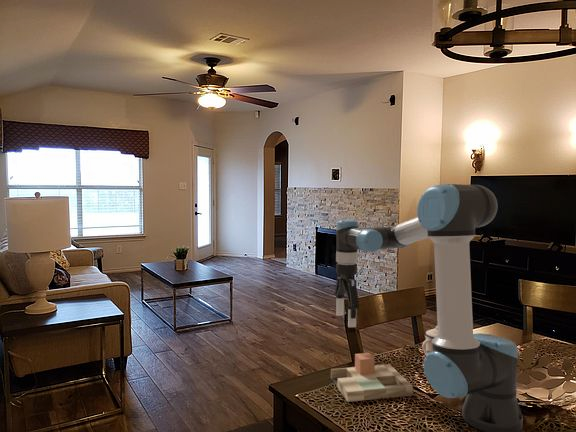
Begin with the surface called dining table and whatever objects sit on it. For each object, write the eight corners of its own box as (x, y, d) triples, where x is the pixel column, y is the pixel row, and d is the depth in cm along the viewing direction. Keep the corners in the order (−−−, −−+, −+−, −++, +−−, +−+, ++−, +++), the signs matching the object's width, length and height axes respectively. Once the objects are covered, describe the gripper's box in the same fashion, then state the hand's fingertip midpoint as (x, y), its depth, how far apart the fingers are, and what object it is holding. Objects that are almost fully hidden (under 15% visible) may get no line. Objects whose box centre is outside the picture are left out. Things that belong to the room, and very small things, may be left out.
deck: (412, 395, 135) (412, 386, 135) (347, 401, 131) (347, 392, 131) (389, 372, 152) (389, 364, 152) (330, 377, 148) (330, 369, 147)
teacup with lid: (437, 350, 172) (438, 321, 171) (455, 359, 164) (456, 328, 163) (414, 356, 167) (414, 325, 166) (431, 364, 159) (432, 333, 158)
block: (374, 373, 144) (374, 358, 144) (360, 374, 143) (360, 359, 143) (368, 367, 149) (369, 352, 149) (354, 368, 148) (355, 353, 148)
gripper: (369, 269, 146) (368, 331, 148) (345, 256, 171) (344, 310, 172) (348, 270, 145) (347, 333, 146) (326, 257, 169) (326, 311, 171)
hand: (345, 321), depth 159 cm, fingers open, 13 cm apart
